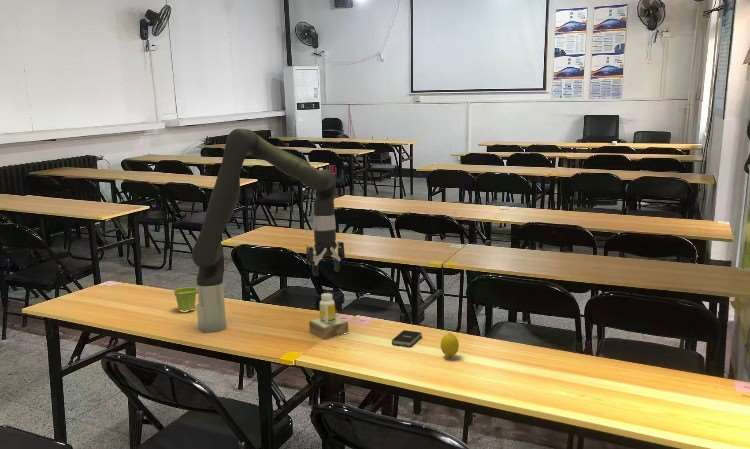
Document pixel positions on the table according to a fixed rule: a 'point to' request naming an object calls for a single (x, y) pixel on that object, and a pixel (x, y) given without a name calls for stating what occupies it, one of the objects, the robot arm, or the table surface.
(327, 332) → the pedestal
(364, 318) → the table surface
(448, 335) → the lemon
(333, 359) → the table surface
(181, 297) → the plant pot
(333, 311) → the supplement bottle
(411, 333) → the external hard drive
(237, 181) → the robot arm
